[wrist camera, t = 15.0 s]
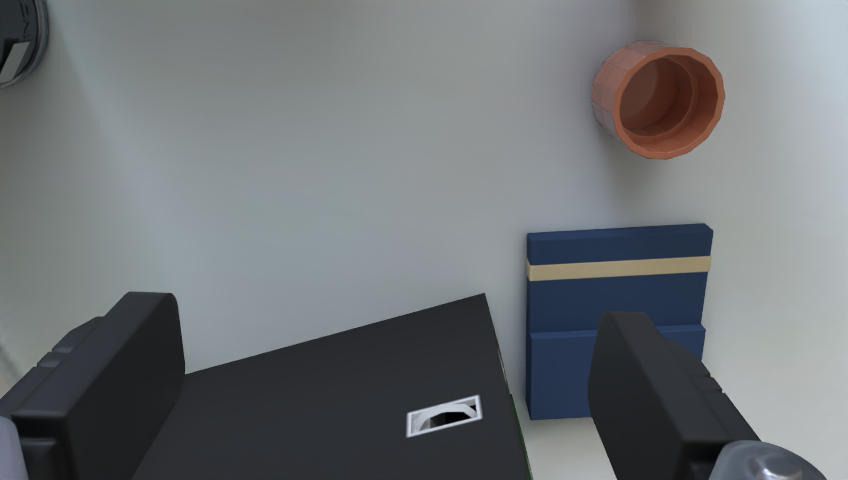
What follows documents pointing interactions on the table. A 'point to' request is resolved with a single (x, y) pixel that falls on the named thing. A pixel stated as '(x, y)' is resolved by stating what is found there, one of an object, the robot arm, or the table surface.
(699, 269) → the towel
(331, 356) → the ring binders
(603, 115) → the flower pot
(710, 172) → the table surface
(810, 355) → the table surface
